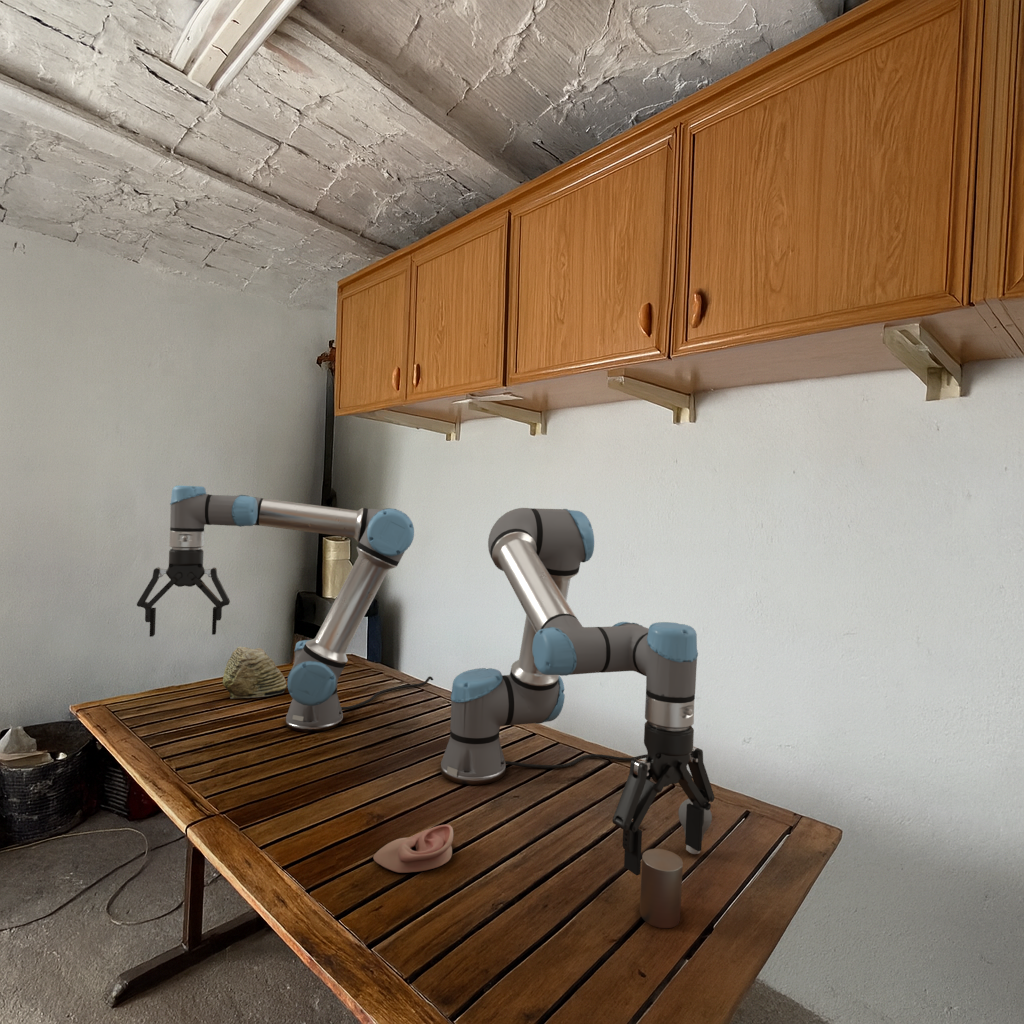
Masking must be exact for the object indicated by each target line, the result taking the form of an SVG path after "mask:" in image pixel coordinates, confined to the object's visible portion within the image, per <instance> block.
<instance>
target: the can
mask: <svg viewBox="0 0 1024 1024" xmlns="http://www.w3.org/2000/svg"><path fill="white" fill-rule="evenodd" d="M683 865H684V862H683V859H682V858H681V856H679V855H678V854H677V853H675V852H673V851H670V850H668V849H663V848H649V849H647V850H646V851H644V852H643V853H642V854H641V871H640V895H639V896H640V897H639V915H640V918H641V919H642V920H643V921H644V922H646V923H647V924H648V925H650V926H652V927H656V928H659V929H671V928H675V927H677V926H678V925H679V924H680V921H681V908H682V907H681V906H682V889H683V869H684V867H683Z"/></svg>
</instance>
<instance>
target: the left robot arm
mask: <svg viewBox="0 0 1024 1024" xmlns="http://www.w3.org/2000/svg"><path fill="white" fill-rule="evenodd" d="M169 505H170V518H169V520H170V523H169V524H170V526H169V527H170V528H169V547H170V549H169V551H168V567H167V568H161V567H159V566H157V567H155V568H154V569H153V571H152V572H153V573H152V576H151V579H150V581H149V582H148V584H147V586H146V587H145V589H144V591H143V593H142V594H141V595H140V596H139V597H140V598H139V599H138V601H136V606H137V607H139V608H143V609H144V611H145V612H144V615H145V616H144V621H145V623H149V637H150V638H151V637H154V636H155V635H156V620H157V619H156V614H157V607H153V606H155V604H156V603H157V602H158V601H159V600H160V599H161V598H162V597H163V596H164V595H165V594H166V593H167V592H168V591H169V590H170V589H171V588H172V587H173V586H176V587H178V588H181V587H188V588H189V587H194V586H196V587H197V588H198V589H199V590H200V591H201V592H202V593H203V594H204V595H205V596H206V597H207V598H208V599H209V601H210V602H211V603H212V604H213V605H214V606H213V607H212V621H211V635H213V636H215V635H216V634H217V624H218V623H217V622H218V621H221V620H222V616H223V607H226V606H228V605H230V604H231V600H230V597H229V596H228V594H227V592H226V589H225V588H224V586H223V584H222V582H221V580H220V578H219V577H218V568H217V567H212V568H205V567H204V550H203V549H202V548H203V547H204V546H205V526H206V525H207V526H211V525H212V526H228V527H229V526H231V527H241V528H242V527H252V526H260V527H267V528H268V527H269V528H276V529H284V530H293V531H299V532H306V533H314V534H315V533H316V534H322V535H331V536H338V537H345V538H354V540H355V541H356V542H357V543H358V544H357V545H356V550H357V554H358V556H357V558H356V560H355V561H354V564H353V565H352V567H351V569H350V571H349V573H348V575H347V577H346V579H345V581H344V583H343V584H342V586H341V588H340V590H339V592H338V594H337V596H336V597H335V599H334V602H333V604H332V605H331V607H330V609H329V611H328V612H327V614H326V617H325V619H324V621H323V623H322V624H321V626H320V628H319V630H318V632H317V633H316V636H315V637H314V638H313V639H303V640H299V641H297V642H296V643H295V648H294V650H293V651H294V663H293V665H292V667H291V670H290V671H289V673H288V675H287V680H286V685H287V690H288V693H289V695H290V698H292V699H291V702H290V704H289V708H288V711H287V713H286V715H285V726H286V728H287V729H289V730H291V731H294V732H295V731H296V732H301V733H316V732H325V731H329V730H332V729H335V728H337V727H339V726H340V725H342V723H343V722H344V714H343V711H348V710H353V709H356V708H360V707H362V706H365V705H366V704H368V703H371V701H374V699H376V698H377V697H379V696H380V695H382V694H384V693H388V692H392V691H397V690H402V689H407V688H408V689H409V688H416V687H421V686H425V685H426V684H427V683H428V682H429V681H434V678H433V676H428V677H427V678H426V679H425V681H423V682H420V683H413V684H412V683H411V684H404V685H398V686H394V687H389V688H385V689H383V690H380V691H377V692H376V693H374V694H373V695H372V696H371V697H370V698H368V699H366V700H363V701H361V702H359V703H356V704H353V705H349V706H341V702H340V699H339V695H338V682H339V681H338V680H339V678H340V677H341V675H342V673H343V671H344V669H345V667H346V665H347V663H348V661H349V660H348V657H347V656H348V655H347V653H346V652H347V650H348V649H349V646H350V644H351V642H352V641H353V639H354V637H355V635H356V633H357V631H358V630H359V627H360V625H361V623H362V622H363V619H364V618H365V616H366V614H367V612H368V610H369V609H370V606H371V604H372V602H373V601H374V599H375V597H376V595H377V593H378V592H379V589H380V587H381V585H382V584H383V581H384V579H385V578H386V576H387V574H388V572H389V571H390V570H392V569H395V568H397V567H398V565H399V564H400V562H401V560H402V558H403V557H404V554H405V552H406V551H408V549H409V548H410V547H411V546H412V544H413V541H414V539H415V538H414V537H415V526H414V523H413V521H412V519H411V518H410V517H409V516H408V514H406V513H405V512H403V511H402V510H400V509H397V508H391V507H388V508H367V507H361V508H360V509H358V510H355V509H347V508H341V507H340V508H339V507H333V506H325V505H317V504H310V503H301V502H296V501H295V502H294V501H286V500H280V499H273V498H265V497H264V498H263V497H259V496H258V497H257V496H250V495H246V494H237V495H229V494H208V493H207V490H206V487H205V486H202V485H201V486H199V485H198V486H197V485H180V484H179V485H175V486H173V487H172V489H171V497H170V503H169ZM164 575H166V576H167V577H168V579H169V581H168V582H167V583H166V584H165V585H164V586H163V587H162V588H161V589H160V590H159V591H158V592H157V593H156V594H155V595H154V596H153V597H152V598H151V599H150V600H149V601H147V600H148V598H149V596H150V594H151V593H152V591H153V589H154V588H155V587H156V584H157V583H158V581H159V579H160V578H162V577H164ZM204 575H207V577H208V578H211V581H212V583H213V585H214V587H215V589H216V591H217V592H218V594H219V596H220V599H221V600H220V599H219V598H218V597H217V595H215V594H214V592H213V591H212V590H211V589H210V588H209V587H208V586H207V584H206V583H205V582H204V581H203V580H202V578H203V577H204Z"/></svg>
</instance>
